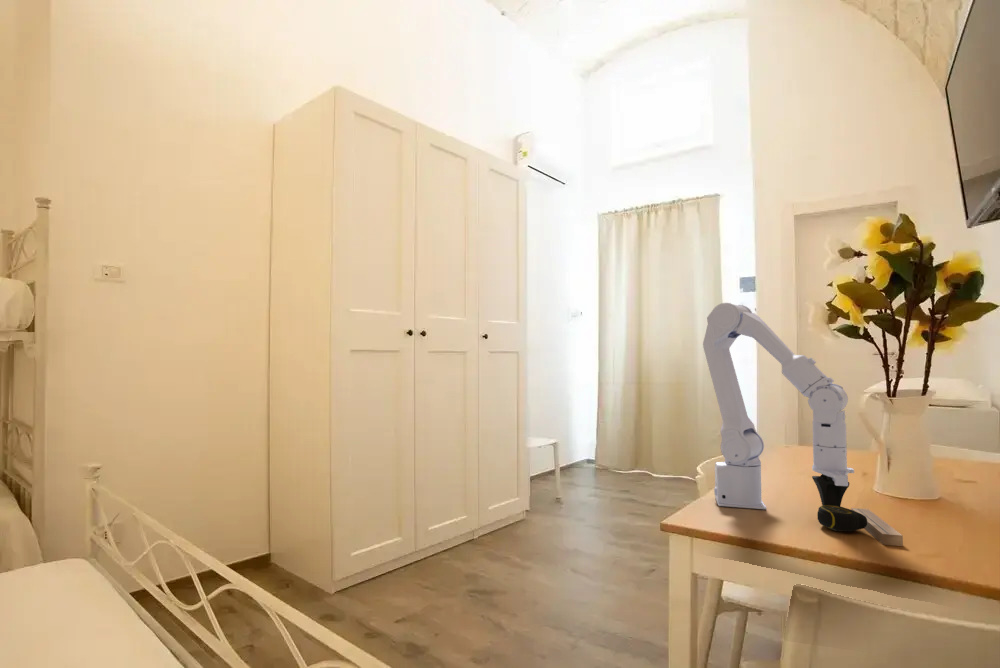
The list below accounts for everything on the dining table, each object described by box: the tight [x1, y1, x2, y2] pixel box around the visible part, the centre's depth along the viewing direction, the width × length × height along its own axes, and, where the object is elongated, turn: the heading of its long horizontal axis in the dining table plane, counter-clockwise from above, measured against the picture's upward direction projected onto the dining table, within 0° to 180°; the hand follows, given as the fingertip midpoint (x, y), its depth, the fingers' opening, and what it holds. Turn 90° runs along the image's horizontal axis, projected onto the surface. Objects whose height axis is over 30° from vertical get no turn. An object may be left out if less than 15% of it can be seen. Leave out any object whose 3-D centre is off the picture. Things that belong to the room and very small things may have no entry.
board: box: [850, 507, 904, 547], centre depth 100 cm, size 3×16×2 cm, turn 163°
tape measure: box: [817, 505, 867, 532], centre depth 101 cm, size 7×7×4 cm
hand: (831, 514), depth 106 cm, fingers closed
